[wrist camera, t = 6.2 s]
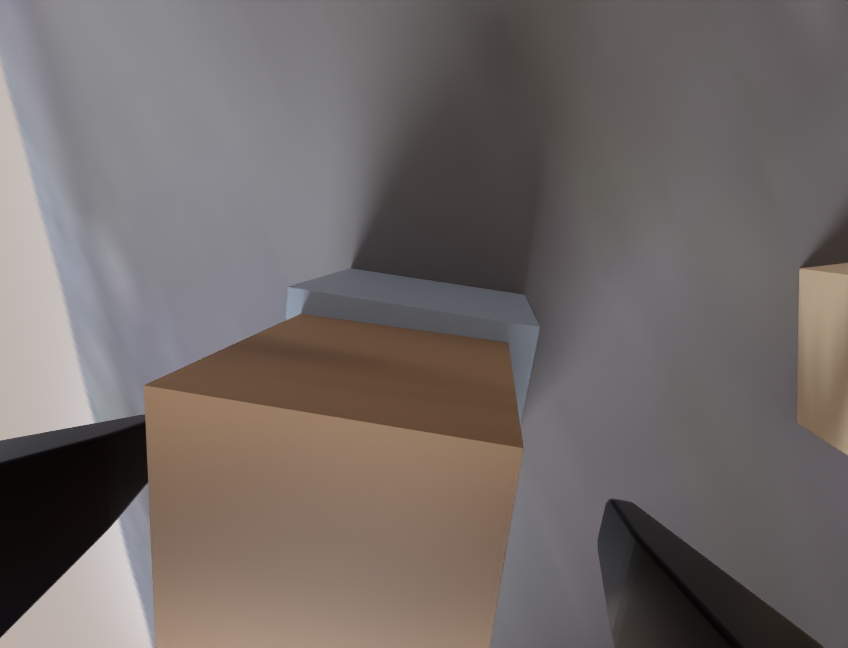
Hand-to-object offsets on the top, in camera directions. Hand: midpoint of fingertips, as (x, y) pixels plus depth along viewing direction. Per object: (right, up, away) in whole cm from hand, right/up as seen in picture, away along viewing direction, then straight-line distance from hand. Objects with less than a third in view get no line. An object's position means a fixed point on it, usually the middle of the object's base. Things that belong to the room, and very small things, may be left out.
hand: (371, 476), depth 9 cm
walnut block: (0, 0, +2) cm, 2 cm away
